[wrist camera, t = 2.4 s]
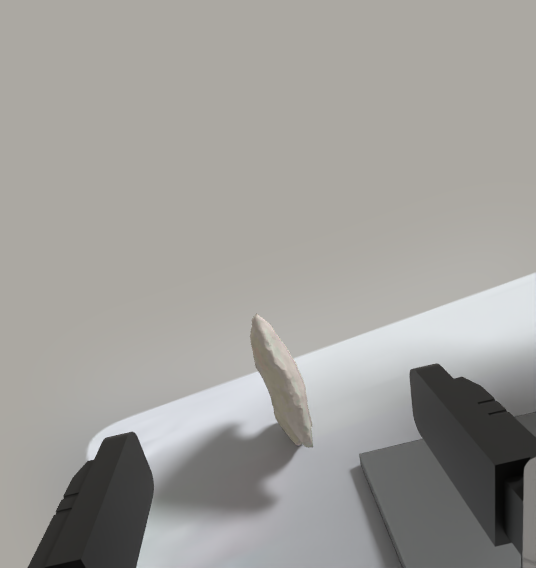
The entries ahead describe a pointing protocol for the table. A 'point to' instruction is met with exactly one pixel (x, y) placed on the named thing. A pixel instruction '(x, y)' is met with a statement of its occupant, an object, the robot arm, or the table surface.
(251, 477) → the table surface
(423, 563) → the mat
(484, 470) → the robot arm
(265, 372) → the arrowhead
